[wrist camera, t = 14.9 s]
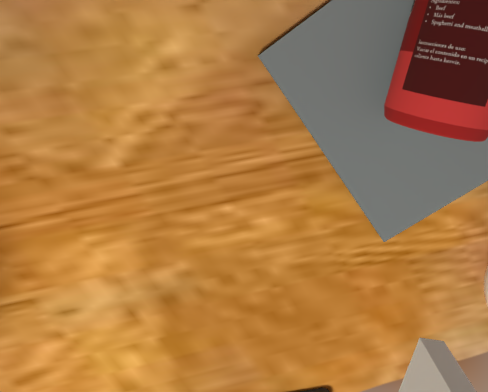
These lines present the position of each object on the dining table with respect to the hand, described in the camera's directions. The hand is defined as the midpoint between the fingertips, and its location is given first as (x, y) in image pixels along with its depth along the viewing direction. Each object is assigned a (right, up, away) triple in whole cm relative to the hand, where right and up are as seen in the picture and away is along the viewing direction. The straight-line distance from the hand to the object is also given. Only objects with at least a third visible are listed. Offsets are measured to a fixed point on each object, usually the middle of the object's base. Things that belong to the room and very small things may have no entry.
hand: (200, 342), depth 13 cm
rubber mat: (+16, +13, +23) cm, 30 cm away
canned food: (+15, +9, +19) cm, 26 cm away
